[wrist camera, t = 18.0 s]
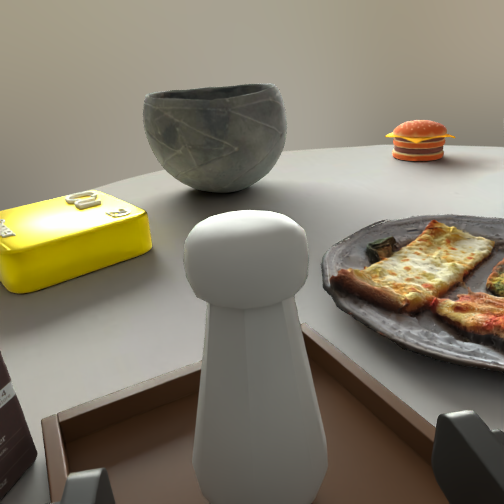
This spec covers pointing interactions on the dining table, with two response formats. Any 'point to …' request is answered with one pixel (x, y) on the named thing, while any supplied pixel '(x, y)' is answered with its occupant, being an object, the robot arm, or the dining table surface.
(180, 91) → the bowl
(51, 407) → the dining table surface
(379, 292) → the food plate
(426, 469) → the tray
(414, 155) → the hamburger
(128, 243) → the element tile
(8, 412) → the box
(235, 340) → the salt shaker
